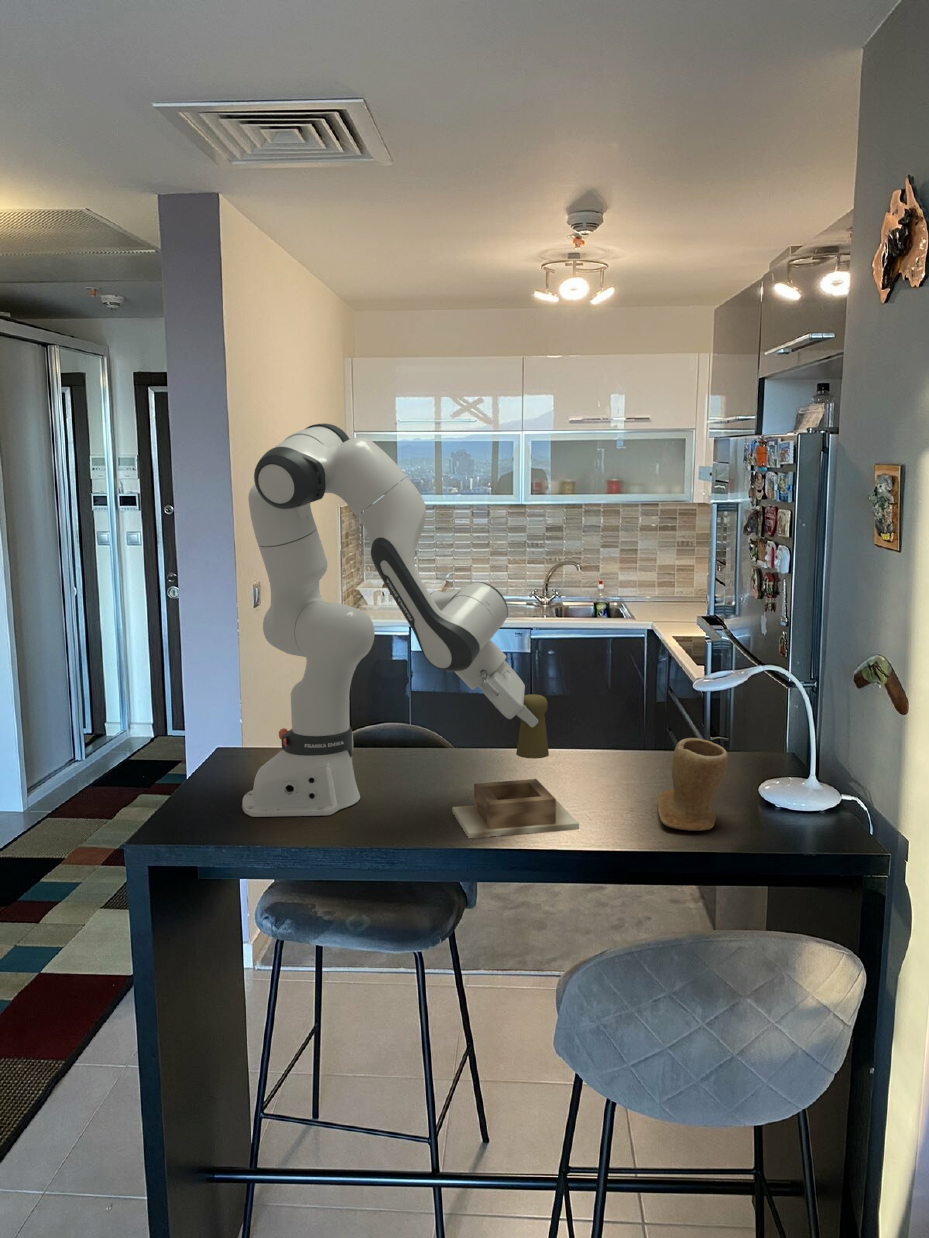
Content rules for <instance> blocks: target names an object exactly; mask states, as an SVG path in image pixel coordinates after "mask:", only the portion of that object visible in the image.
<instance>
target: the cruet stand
mask: <svg viewBox="0 0 929 1238" xmlns="http://www.w3.org/2000/svg"><path fill="white" fill-rule="evenodd" d="M473 787H474V788H473V789H474V791H473V792H474V797H473V798H474V800H473V801H474V804H473V805H464V806H463V805H462V806H461V805H460V806H452V809H451V810H452V814H453V815H455V816H454V817H455V819H456V820H457V822H458V823H459V825H460V827H461V828H463V829H462V830H463V831H464V834H465V835H466V836H468V837H467V838H468V839H469V838H475V839H483V838H482V837H486V838H491V837H490V836H496V837H502V836H501V835H507V836H515V834H518V835H525V834H526V833H529V834H536V833H535V832H540V833H550V831H551V832H559V831H560V830H562V831H570V830H569V829H572V830H579V829H580V822H578V820H576V819H575V818H574V816H572V814H570V812H569V811H567V809H566V808H565V807H564V806H563V805H562V804H561V803H560V802H559V801H558V800H557V799H556V798H555V796H553V794H552V793H551V792H549V791H548V790H547V788H546V787H545V785H543V784H542V783H541V782H540V781H539V780H538V779H537V778H529V779H519V780H518V779H517V780H504V781H503V780H502V781H493V782H482V783H481V782H480V783H474V784H473ZM558 830H559V831H558ZM560 832H561V831H560ZM526 835H527V834H526Z"/></svg>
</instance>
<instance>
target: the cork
mask: <svg viewBox="0 0 929 1238" xmlns="http://www.w3.org/2000/svg"><path fill="white" fill-rule="evenodd" d="M524 705H525V706H526V708H527V709H528V710H529V711H530V712H531V713H533V714H534V715H535V716H536V717H537V718H538V724H536V725H535V726H534V727H530V726H529V725H528V724H527V723H526V722H525V721H524V720H522V719H521V718H520V725H519V726H520V727H519V734H518V740H517V746H516V752H515V754H516V756H518V757H520V758H524V759H535V760H536V759H544V758H547V757H549V756H550V752H549V744H548V736H547V735H548V733H547V726H546V718H545V713H546V712H547V710H548V700H547V698H546V697H545V696H543V695H541V694H536V693H535V694H532V693H531V694H524Z"/></svg>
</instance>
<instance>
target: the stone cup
mask: <svg viewBox="0 0 929 1238" xmlns="http://www.w3.org/2000/svg"><path fill="white" fill-rule="evenodd" d="M673 751H674V753H673V756H672V757H673V758H672V765H671V776H672V777H671V778H672V783H673V784H672V785H673V789H669V790H665V791H662V792H660V793H659V794H658V795H657V796H658V798H657V806H658V807H657V809H658V811H657V812H658V815H659V819H660V821H661V823H662V824H663V825H665V826H666V827H669V828H672V829H676V830H683V831H708V830H711V829H712V828H713V827H715V824H716V814H715V811H714V809H713V803H714V799H715V797H716V795H717V793H718V790H719V789H720V786H721V785H722V783H723V781H724V779H725V776H726V774H727V770H728V762H729V754H728V751H727V750H726V749H725V748H724V747H723V746H721V745H720V744H718V743H714V742H713V741H710V740H706V739H702V738H697V737H688V738H684V739H683V738H682V739H681V740H679V741H678V742H677V744H676V745H675V748H674V750H673Z"/></svg>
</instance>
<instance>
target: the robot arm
mask: <svg viewBox="0 0 929 1238" xmlns="http://www.w3.org/2000/svg"><path fill="white" fill-rule="evenodd" d="M253 472H254V473H253V480H254V485H252V487H251V488H250V490H249V493H248V507H249V514H250V518H251V519H250V520H251V523H252V524H251V525H252V528H253V532H254V535H255V539H256V542H257V545H258V546H257V547H258V549H259V551H260V555H261V558H262V560H263V561H262V562H263V565H264V568H265V569H266V574H267V576H268V581H269V587H270V604H269V605H270V606H269V608H268V609H267V611H266V613H265V615H264V617H263V622H262V631H263V635H264V637H265V640H266V641H267V642H268V643H269V644H270V645H271V646H272V647H274V648H276V649H277V650H279V651H281V652H284V653H286V654H288V655H291V656H298V657H303V658H306V666H305V670H304V674H303V677H302V679H301V680H300V681H298V682H296V684H295V685H294V686H293V687H292V689H291V692H290V712H291V728H290V730H289V729H287V728H284V727H283V728H280V730H279V731H278V737H279V739H280V740H281V750H280V751H278V752H277V754H276V755H274V756H273V757H272V758H270V759H269V760H268V761H267V762H266V763H264V764H263V765H261V766H260V767H259V768H258V771H257V772H256V775H255V777H254V781H253V789H252V790H249V791H248V792H246V793H245V794H244V795H243V798H242V805H241V808H242V811H243V812H244V814H246V815H248V816H250V817H252V818H254V817H255V818H257V817H258V818H259V817H260V818H263V817H264V818H265V817H302V816H303V817H308V816H309V817H311V816H312V817H313V816H314V817H315V816H317V817H318V816H331V815H333V814H335V813H336V812H338V811H339V810H342V809H345V808H348V807H350V806H353V805H355V804H356V803H358V802H359V800H360V799H361V795H360V792H359V788H358V786H357V782H356V781H357V780H356V776H355V772H354V765H353V752H354V735H353V729H352V726H351V725H350V692H351V685H352V681H353V677H354V674H355V671H356V669H357V666H358V664H360V662H361V660H362V659H364V658H365V657H366V656H367V655H368V654H369V652H370V650H372V648H373V647H372V646H373V645H374V642H375V641H374V640H375V626H374V622H373V621H372V619H371V617H370V615H368V614H367V613H366V612H365V611H362V610H361V609H358V608H356V607H353V606H351V605H349V604H345V603H338V602H330V601H329V602H328V601H324V599H323V598H322V596H321V591H320V581H321V579H323V577H324V576H325V574H326V572H327V571H328V570H327V569H328V561H327V557H326V553H325V550H324V547H323V544H322V540H321V537H320V534H319V532H318V531H319V530H318V527H317V525H316V521H315V518H314V515H313V513H312V509H311V503H314V502H316V501H319V500H322V499H323V498H324V496H325V494H332V495H333V494H334V495H336V496H337V497H339V498H340V499H341V500H343V502H344V503H346V504H347V506H348V507H349V509H351V511H352V513H354V515H355V516H356V517H357V518H358V520H359V521H360V523H361V524H362V526H363V528H364V529H365V531H366V533H367V536H368V539H369V543H370V545H371V546H370V557H371V561H372V563H373V565H374V567H375V569H376V572H377V573H378V575H379V577H380V578H381V580H382V582H383V584H384V586H385V587H386V589H387V590H388V592H389V594H390V595H391V597H392V598H393V600H394V601H395V603H396V605H397V606H398V608H399V610H400V612H401V613H402V614H403V615H402V616H403V617H404V618H405V620H406V621H407V623H408V625H409V626H410V628H411V629H412V631H413V633H414V636H415V638H416V641H417V642H418V646H419V647H420V650H421V652H422V655H423V656H424V658H425V659H426V660H427V661H428V663H429V664H430V665H432V667H435V668H436V669H438V670H441V671H446V672H454V673H455V674H456V675H457V676H458V678H460V679H461V680H462V681H463V682H464V683H465V684H466V685H467V687H469V688H470V690H472V691H473V690H476V689H477V688H479V689H480V690H481V692H482V693H483V694H484V695H485V697H487V699H488V700H489V701H490V702H491V703H492V704H493V705H494V707H495V708H496V709H497V710H498V711H499V712H500V713H501V714H502V715H503V717H505V718H506V719H507V720H512V719H513V718H515V716H517V717H518V718H519V719H520V720H521V719H522V720H524V721H525V722H526V723H527V724H528V725H529V726H530V727H534V726H535V725H536V724H538V718H537V717H536V716H535V715H534V714H533V713H531V712H530V711H529V710H528V709H527V708H526V706H525V705H524V696H525V693H526V692H525V689H526V685H525V683H524V681H523V680H522V679H521V678H520V676H519V675H518V674H517V672H516V671H515V670H514V669H513V668H512V667H511V665H510V664H509V663H508V662H507V661H506V659H507V655H506V654H505V653H504V652H503V651H502V650H501V649H500V648H499V647H498V646H497V645H496V644H495V643H494V642H493V640H492V638H493V637H494V635H495V634H496V633H497V632H498V631H499V630H500V628H502V626H503V625H504V623H505V621H506V620H507V618H508V616H509V610H508V609H509V608H508V604H507V601H506V599H505V597H504V596H503V594H502V593H501V592H500V591H499V590H498V589H497V588H496V587H494V586H493V585H491V584H489V583H487V582H483V581H474V582H473V581H472V582H471V583H469V584H467V585H465V586H463V587H460V588H457V589H455V590H451V591H440V590H434V591H433V592H431V593H430V592H429V590H428V589H427V587H426V586H425V583H424V582H423V580H422V579H421V577H420V575H419V574H418V571H417V569H416V568H417V567H416V563H415V554H416V549H417V545H418V543H419V539H420V538H421V536H422V533H423V531H424V530H423V529H424V527H425V523H426V516H427V509H426V503H425V501H424V498H423V497H422V494H421V493H420V492H419V490H418V489H417V487H416V486H415V485H414V483H413V482H412V480H410V478H409V477H408V476H407V474H406V473H405V472H404V471H403V469H401V467H400V466H399V465H398V464H397V463H396V462H395V461H394V460H393V459H392V458H391V457H390V456H389V455H388V454H387V453H386V452H385V451H384V450H383V449H382V448H381V447H380V446H379V445H377V444H376V443H375V442H374V441H372V440H371V439H370V438H368V437H364V436H357V437H352V438H350V437H349V436H348V434H347V433H346V432H345V431H344V430H343V429H342V428H340V427H338V426H337V425H334V424H332V423H316V424H312V425H309V426H306V428H304V429H302V430H299V431H297V432H295V433H293V434H291V435H289V436H287V437H286V438H285V439H284V440H283V441H281V442H279V444H278V445H276V446H275V447H273V448H271V449H268V450H267V451H266V452H265V453H264V454H263V455H262V456H261V458H260V459H259V461H258V462H257V464H256V466H255V468H254V471H253Z"/></svg>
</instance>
